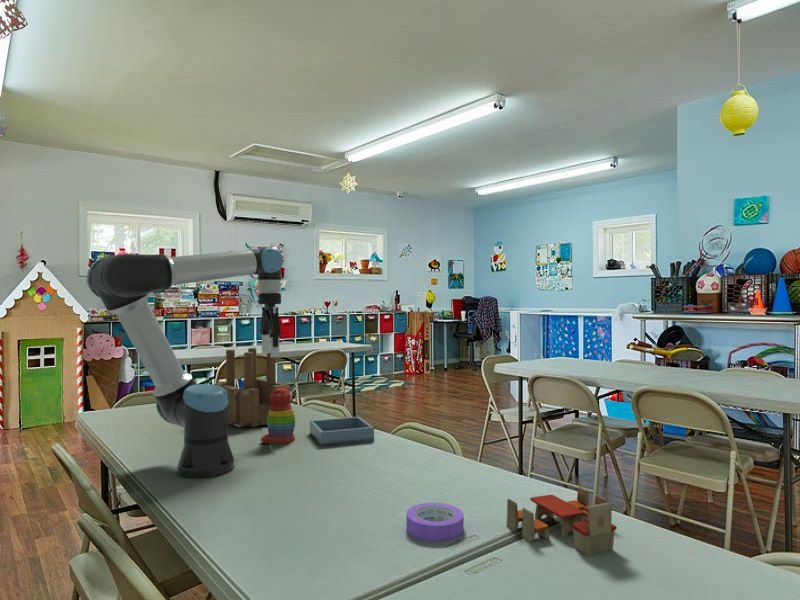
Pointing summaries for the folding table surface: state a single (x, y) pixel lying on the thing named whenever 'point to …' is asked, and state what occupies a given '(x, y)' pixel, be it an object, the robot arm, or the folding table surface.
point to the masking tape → (434, 521)
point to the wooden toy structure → (250, 390)
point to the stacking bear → (280, 418)
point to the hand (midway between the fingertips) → (270, 355)
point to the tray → (341, 431)
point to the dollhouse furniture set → (568, 520)
